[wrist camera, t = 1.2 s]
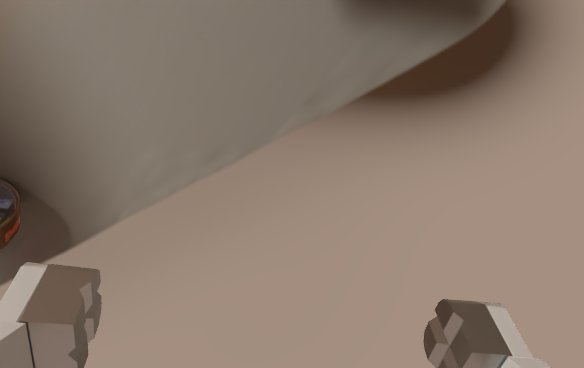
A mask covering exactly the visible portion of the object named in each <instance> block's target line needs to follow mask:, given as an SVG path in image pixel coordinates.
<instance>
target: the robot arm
mask: <svg viewBox="0 0 584 368" xmlns="http://www.w3.org/2000/svg"><path fill="white" fill-rule="evenodd" d="M99 285H100V271H99V270H97V269H89V268H80V267H71V266H62V265H53V264H51V265H49V264H40V263H31V262H26V263H25V264H24V265H23V266H21V267H20V269H19V271H18V272H17V274H16V276H15V277H14V279H13V281H12V282H11V284H10V286H9V287H8V289H7V291H6V292H5V294H4V296H3V297H2V299H1V301H0V368H84V366H85V363H86V360H87V357H88V342H89V341H91V340H92V339H93V338H94V337H95V334H96V331H97V328H98V324H99V319H100V314H101V295H100V294H99V293H98V292H97V290H98V287H99ZM435 311H436V313H437V317H435V318H434V319H432V320H431V321H429V322H428V325H427V327H426V329H425V333H424V347H425V352H426V355H427V358H428V360H429V361H430V362H431V363H432V364H433V365H434V366H435V367H436V368H551V367H550V366H549V365H547V364H546V363H545V362H544V361H542V360H541V359H539V358H534V357H533V356H532V354H531V352H530V351H529V348H528V347H527V345H526V343H525V342H524V340H523V338H522V336H521V335H520V333H519V331H518V329H517V328H516V326H515V324H514V322H513V321H512V319H511V318H510V316H509V314H508V312H507V310H506V309H505V307H504V306H502V305H501V304H500V303H487V302H474V301H461V300H448V299H443V300H441V301H440V302H439V303H438V305H437V307H436V309H435Z"/></svg>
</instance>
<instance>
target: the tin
mask: <svg viewBox="0 0 584 368" xmlns="http://www.w3.org/2000/svg"><path fill="white" fill-rule="evenodd" d="M20 224H21V212H20V197H19V194H18V192H17V190H16V189H15V188H14V187H13V186H12V185H11V184H9V183H8V182H6V181H4V180H2V179H0V249H2V248H3V247H5V246H6V245H7V244H8V243H9V242H10V240H11V239H12V238H13V237H14V236H15V234H16V233H17V231H18V229H19V227H20Z"/></svg>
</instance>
